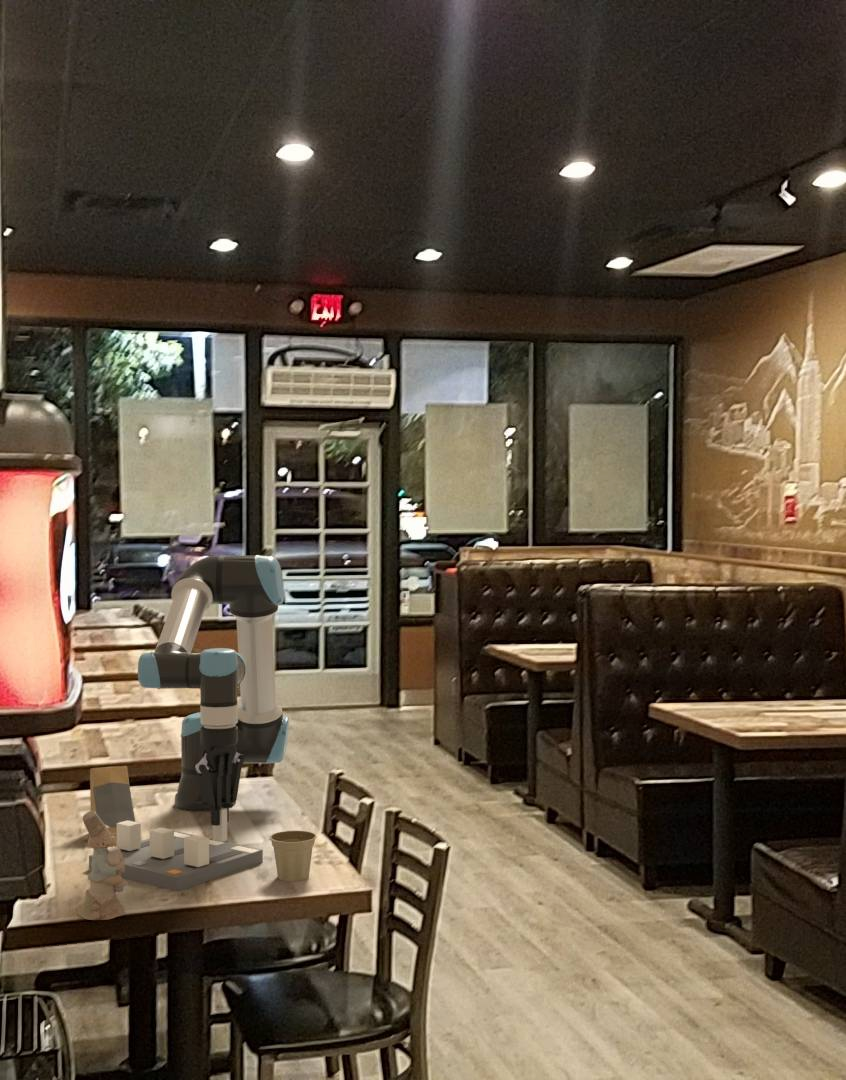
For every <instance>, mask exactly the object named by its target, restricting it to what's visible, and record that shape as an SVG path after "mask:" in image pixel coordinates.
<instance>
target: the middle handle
mask: <svg viewBox="0 0 846 1080" xmlns="http://www.w3.org/2000/svg"><path fill="white" fill-rule="evenodd" d="M174 831H175V830H174V829H171V828H164V827H157V828H154V829H150V830H149V838H150V856H153V857H157V858H161V859H165V858H168V857H171V856H174Z"/></svg>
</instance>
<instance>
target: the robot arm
mask: <svg viewBox="0 0 846 1080" xmlns="http://www.w3.org/2000/svg"><path fill="white" fill-rule="evenodd" d="M283 577H284V576H283V572H282V568H281V565H280V562H279V561H278V559H277V558H276V557H274V556H270V555H260V554H256V555H253V554H252V555H251V554H250V555H211V556H205V557H203V558H201V559H199V560H197V561H196V562H194V563H192V564H191V565H189V566H188V567H186V569H184V570H183V572H182V573H181V574H179V576H178V577H177V578H176V579H175V581H174V584H173V587H172V589H171V594H170V595H171V600H172V602H171V605H170V608H169V611H168V613H167V616H166V619H165V623H164V624H163V628H162V629H161V633H160V636H159V638H158V641H157V644H156V647H155V650H154V651H150V652H144V653H142V654H141V655H140V656H139V658H138V662H137V679H138V683H139V685H140V686H141V687H143V688H145V689H157V690H160V689H161V690H162V689H165V690H166V689H168V690H169V689H200V695H199V696H200V703H199V704H200V706H199V709H200V710H199V711H200V712H195V713H191V714H189V715H187V716H185V717H184V718H183V720H182V721H181V730H180V731H181V733H180V745H181V750H180V751H181V752H180V753H181V757H180V758H181V774H180V776H181V777H180V779H179V783H178V786H177V792H176V793H175V795H174V807H175V808H176V809H178V810H180V811H181V810H182V811H185V812H186V811H187V812H199V813H200V812H210V824H211V825H212V839H213V840H217V841H221V842H223V841H224V842H227V841H228V823H229V819H230V818H229V817H230V814H229V813H230V812H229V811H230V809H232V808H233V807H234V806H235V805H236V804H237V799H238V793H239V786H240V780H241V774H242V768H243V765H244V764H263V765H267V764H278V763H281V762H282V761H283V760H284V758H285V755H286V751H287V743H288V737H289V729H290V717H289V716H287V715H283V709H282V707H281V706H280V705H279V704H278V703H277V700H276V699H277V698H276V694H277V693H276V678H275V677H276V674H275V653H274V652H275V651H274V631H273V629H274V628H273V616H274V615H275V614H276V613H277V612H279V606H280V605H282V604H283V602H284V601H285V589H284V587H285V586H284V584H285V583H284V578H283ZM211 605H228V606H229V614H230V615H231V616H233V617H234V618H235V619H236V633H237V651H238V652H237V651H236V650H235V649H233V648H227V647H225V648H223V647H217V648H216V647H214V648H209V649H204V650H202V651H201V652H192V651H193V648H194V644H195V642H196V638H197V635H198V631H199V629H200V626H201V623H202V619H203V617H204V613H205V612H206V611H207V610H208V609H209V608H210V607H211ZM238 685H239V686H240V687H239V689H240V690H239V691H240V693H239V694H240V706H239V705H238ZM238 706H239V707H238Z"/></svg>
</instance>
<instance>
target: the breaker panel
mask: <svg viewBox="0 0 846 1080" xmlns="http://www.w3.org/2000/svg"><path fill="white" fill-rule="evenodd" d="M193 835H194V834H192V833H186V832H182V831H177V830H174V856H171V857H168V858H165V859H161V858H157V857H153V856H150V837H149V838H146V839H143V840H142V839H141V848H139V849H135V850H132V851H127V850H123V849H120V850H121V852H122V856H123V858H124V859H125V861H124V865H125V872H123V873H121V877H122V878H123V879H125V880H131V881H134V882H138V883H143V884H146V885H151V886H154V887H155V886H156V887H158V888H163V889H168V890H171V891H175V892H180V891H184V890H185V889H189V888H192V887H195V886H198V885H200V884H204V883H206V881H207V882H209V881H212V880H215V879H218V878H221V877H223V876H226V875H230V874H232V873H235V871H236V872H239V871H242V870H244V868H245V869H247V868H250V867H253V866H256V865H260V864H262V863H263V862H264V861H263V859H264V858H263V855H264V854H263V853H264V852H263V851H264V850H263V849H261V848H256V847H251V846H247V845H243V844H238V843H234V842H233V843H232V842H228V841H223V842H221V841H217V840H213V838H211V837H208V838H209V864H207V865H204V866H201V867H195V866H191V865H187V864H184V838H186V837H189V836H193ZM116 849H118V848H117V847H114V848H111V849H108V851H109V852H110V851H113V850H116ZM92 858H93V854H90V855H88V870H89V869H91V871H92V866H91V863H92ZM241 869H242V870H241ZM229 873H230V874H229Z"/></svg>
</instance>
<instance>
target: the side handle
mask: <svg viewBox="0 0 846 1080" xmlns="http://www.w3.org/2000/svg"><path fill="white" fill-rule="evenodd" d="M141 827H142V825H141V822H137V821H135V822H133V821H128V820H127V821H123V822H120V823H117V846H116V848H120V849H123V850H127V851H132V850H135V849H139V848H141V841H142V839H141V838H142V829H141Z"/></svg>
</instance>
